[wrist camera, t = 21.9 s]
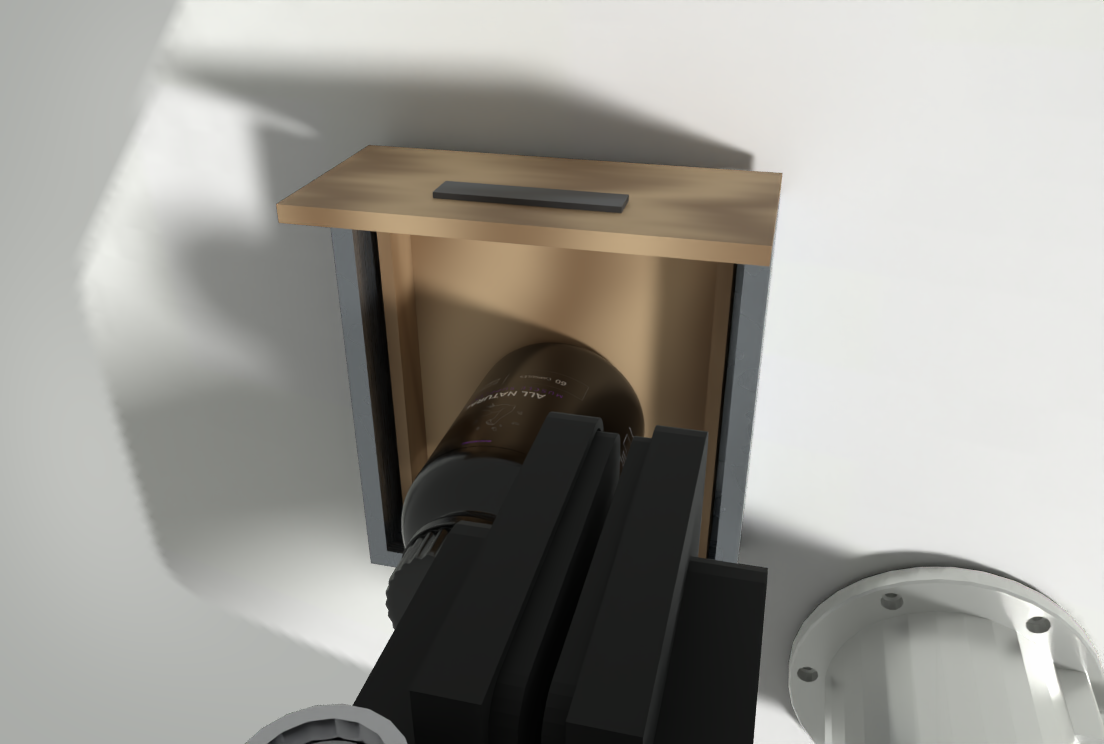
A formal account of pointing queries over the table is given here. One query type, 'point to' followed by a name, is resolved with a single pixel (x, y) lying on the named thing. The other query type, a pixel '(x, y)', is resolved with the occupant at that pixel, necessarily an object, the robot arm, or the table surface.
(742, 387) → the housing
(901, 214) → the table surface
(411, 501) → the supplement bottle
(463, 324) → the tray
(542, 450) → the robot arm
